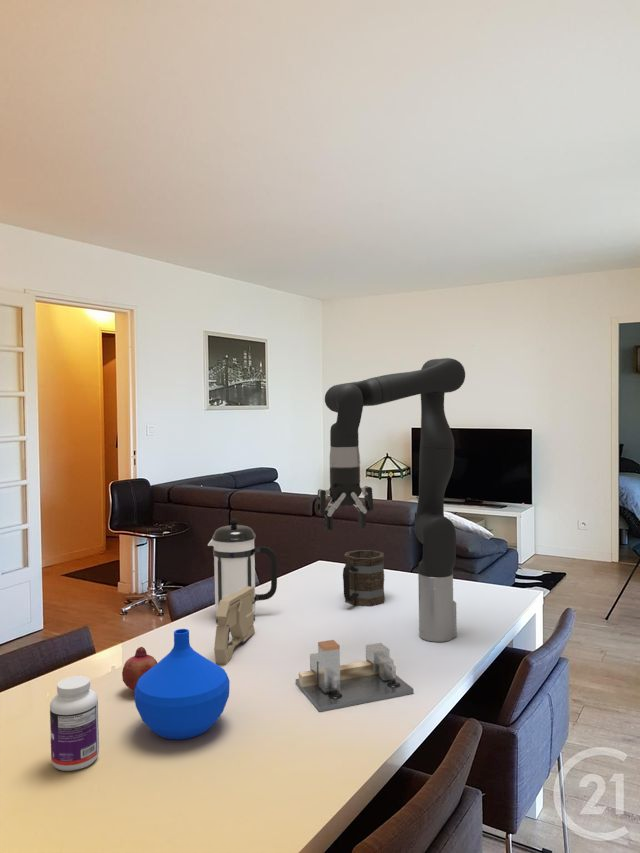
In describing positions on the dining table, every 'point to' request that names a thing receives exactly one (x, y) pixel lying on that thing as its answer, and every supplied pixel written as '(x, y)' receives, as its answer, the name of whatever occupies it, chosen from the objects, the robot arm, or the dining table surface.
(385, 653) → the fixed leg
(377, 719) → the dining table surface
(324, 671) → the slide leg
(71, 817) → the dining table surface
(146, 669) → the fruit
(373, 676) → the bolt plate
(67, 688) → the pill bottle
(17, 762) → the dining table surface
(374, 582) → the mug
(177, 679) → the vase
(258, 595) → the coffee press
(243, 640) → the gun
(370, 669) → the divider rail
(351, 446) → the robot arm
